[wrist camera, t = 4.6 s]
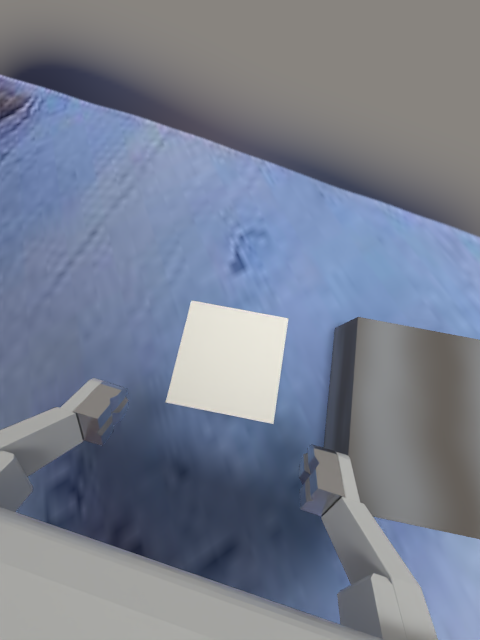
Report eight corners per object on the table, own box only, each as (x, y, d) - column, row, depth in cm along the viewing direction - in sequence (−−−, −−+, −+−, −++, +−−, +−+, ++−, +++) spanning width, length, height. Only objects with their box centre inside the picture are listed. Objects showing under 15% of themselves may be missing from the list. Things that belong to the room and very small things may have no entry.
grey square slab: (318, 478, 16) (344, 510, 12) (332, 329, 19) (358, 316, 15) (475, 511, 16) (552, 554, 12) (468, 354, 19) (528, 349, 15)
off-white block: (197, 390, 17) (165, 402, 9) (210, 333, 18) (191, 300, 11) (256, 402, 17) (273, 423, 9) (266, 343, 18) (288, 318, 10)
